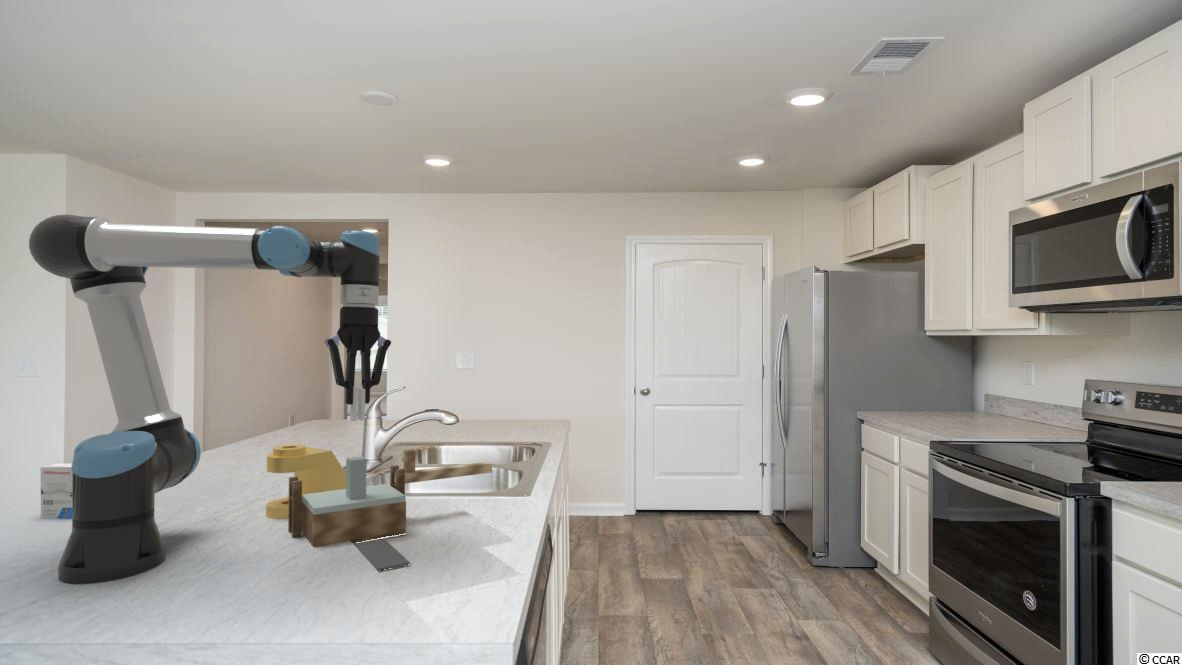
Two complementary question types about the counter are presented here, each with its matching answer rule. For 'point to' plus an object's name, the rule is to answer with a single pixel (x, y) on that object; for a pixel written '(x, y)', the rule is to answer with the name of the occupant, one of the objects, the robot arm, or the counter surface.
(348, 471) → the lid
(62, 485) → the ink box
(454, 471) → the key
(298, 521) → the wooden rack
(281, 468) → the yellow clevis bracket
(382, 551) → the mat
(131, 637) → the counter surface
